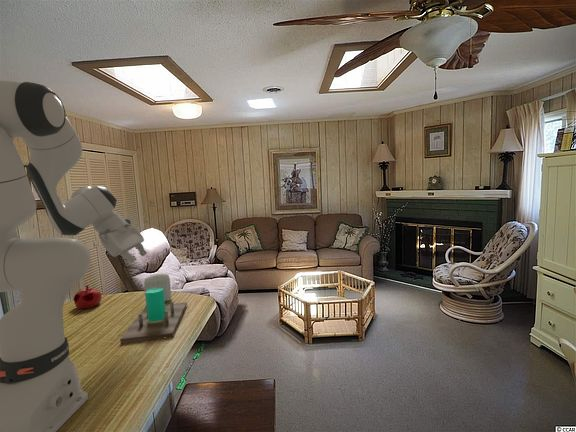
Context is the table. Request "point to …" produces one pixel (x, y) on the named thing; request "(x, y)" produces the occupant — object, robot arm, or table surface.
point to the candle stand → (154, 324)
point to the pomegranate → (87, 298)
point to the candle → (155, 304)
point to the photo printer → (159, 284)
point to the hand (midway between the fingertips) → (139, 258)
